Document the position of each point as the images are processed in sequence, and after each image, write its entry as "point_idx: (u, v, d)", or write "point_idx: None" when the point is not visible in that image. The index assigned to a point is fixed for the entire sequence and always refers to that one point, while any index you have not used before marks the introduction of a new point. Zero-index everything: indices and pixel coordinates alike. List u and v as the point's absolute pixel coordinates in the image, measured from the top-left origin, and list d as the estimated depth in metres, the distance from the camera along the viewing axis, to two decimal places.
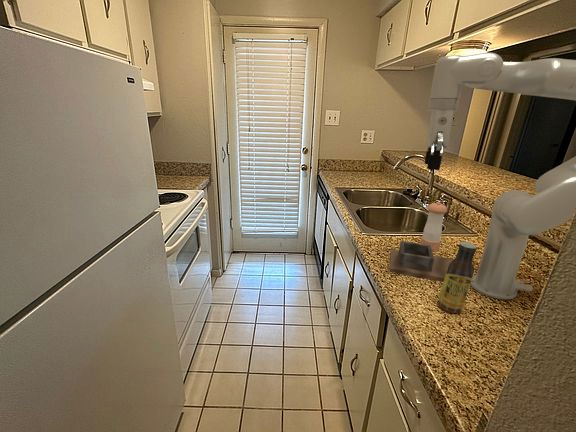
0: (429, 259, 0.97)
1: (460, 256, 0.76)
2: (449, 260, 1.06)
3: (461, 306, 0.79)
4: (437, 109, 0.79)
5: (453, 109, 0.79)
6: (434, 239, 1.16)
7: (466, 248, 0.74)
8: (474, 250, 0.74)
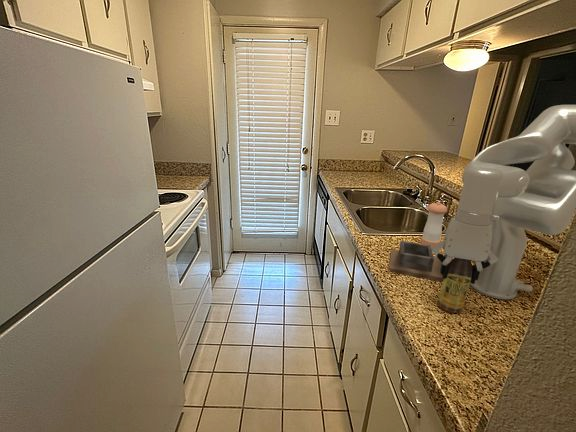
0: (429, 259, 0.97)
1: None
2: None
3: (461, 306, 0.79)
4: (489, 224, 0.71)
5: None
6: (434, 239, 1.16)
7: None
8: None
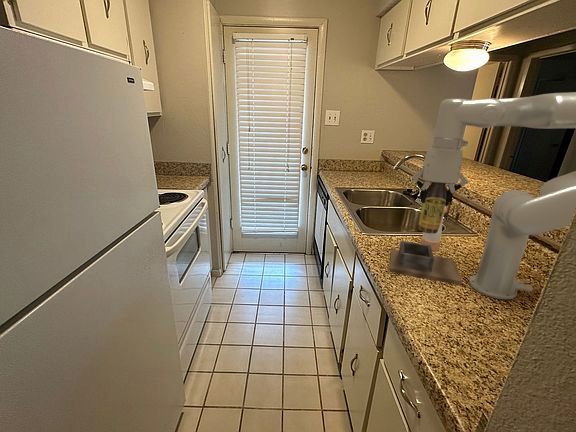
0: (429, 259, 0.97)
1: None
2: (449, 260, 1.06)
3: (437, 226, 0.91)
4: None
5: None
6: (434, 239, 1.16)
7: None
8: None
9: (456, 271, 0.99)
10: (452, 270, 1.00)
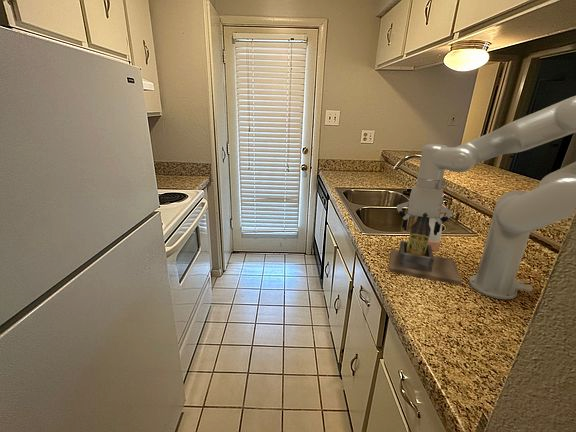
0: (429, 259, 0.97)
1: (419, 219, 0.98)
2: (449, 260, 1.06)
3: None
4: (440, 188, 0.92)
5: None
6: (434, 239, 1.16)
7: None
8: None
9: (456, 271, 0.99)
10: (452, 270, 1.00)
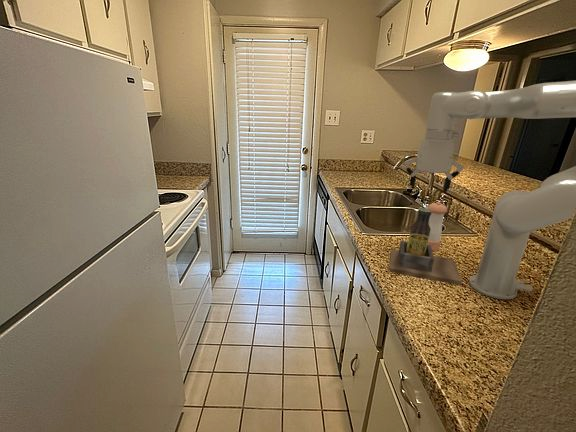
0: (429, 259, 0.97)
1: (419, 219, 0.98)
2: (449, 260, 1.06)
3: None
4: (450, 139, 0.87)
5: None
6: (434, 239, 1.16)
7: (423, 211, 0.96)
8: (429, 213, 0.96)
9: (456, 271, 0.99)
10: (452, 270, 1.00)
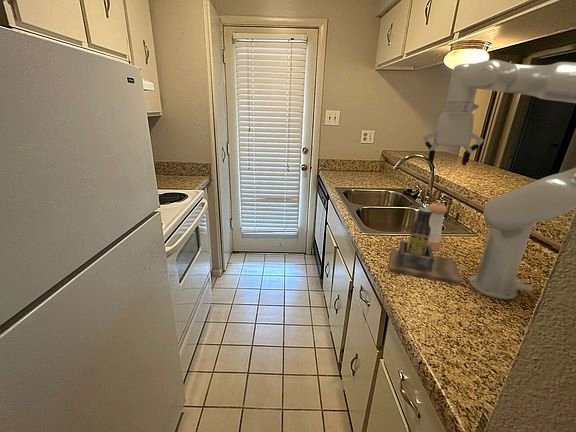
0: (429, 259, 0.97)
1: (419, 219, 0.98)
2: (449, 260, 1.06)
3: None
4: (471, 112, 0.88)
5: None
6: (434, 239, 1.16)
7: (423, 212, 0.96)
8: (429, 213, 0.96)
9: (456, 271, 0.99)
10: (452, 270, 1.00)
